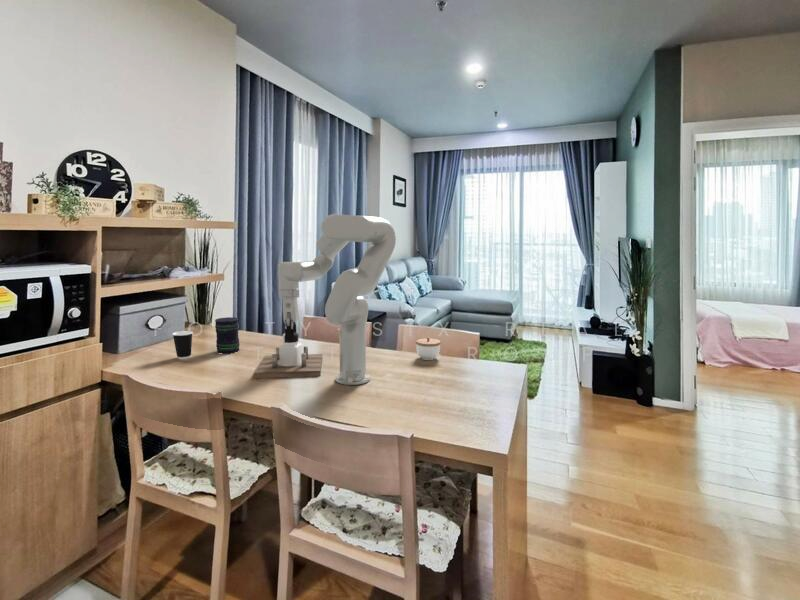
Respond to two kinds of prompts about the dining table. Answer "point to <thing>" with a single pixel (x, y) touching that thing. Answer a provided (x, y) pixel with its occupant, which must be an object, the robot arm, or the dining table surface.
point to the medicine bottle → (290, 351)
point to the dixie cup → (183, 343)
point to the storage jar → (227, 335)
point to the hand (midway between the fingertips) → (291, 336)
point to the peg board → (289, 366)
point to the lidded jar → (428, 348)
